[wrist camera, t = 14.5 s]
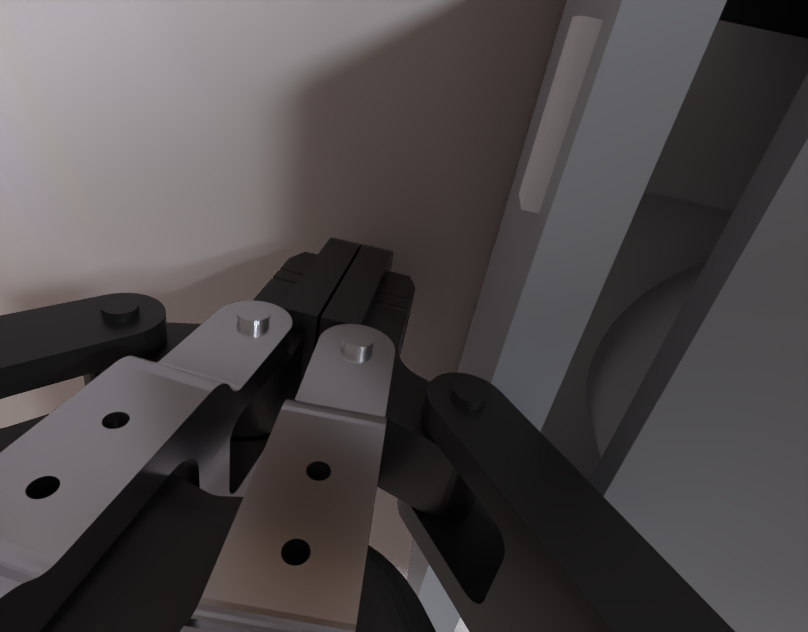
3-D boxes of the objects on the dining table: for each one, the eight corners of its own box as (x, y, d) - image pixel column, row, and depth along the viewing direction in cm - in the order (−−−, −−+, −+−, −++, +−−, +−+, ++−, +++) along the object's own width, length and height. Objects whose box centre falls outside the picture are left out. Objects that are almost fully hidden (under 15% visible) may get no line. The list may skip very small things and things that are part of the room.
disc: (653, 217, 10) (680, 249, 8) (993, 288, 10) (1081, 334, 8) (550, 453, 13) (557, 505, 12) (802, 511, 13) (841, 571, 11)
